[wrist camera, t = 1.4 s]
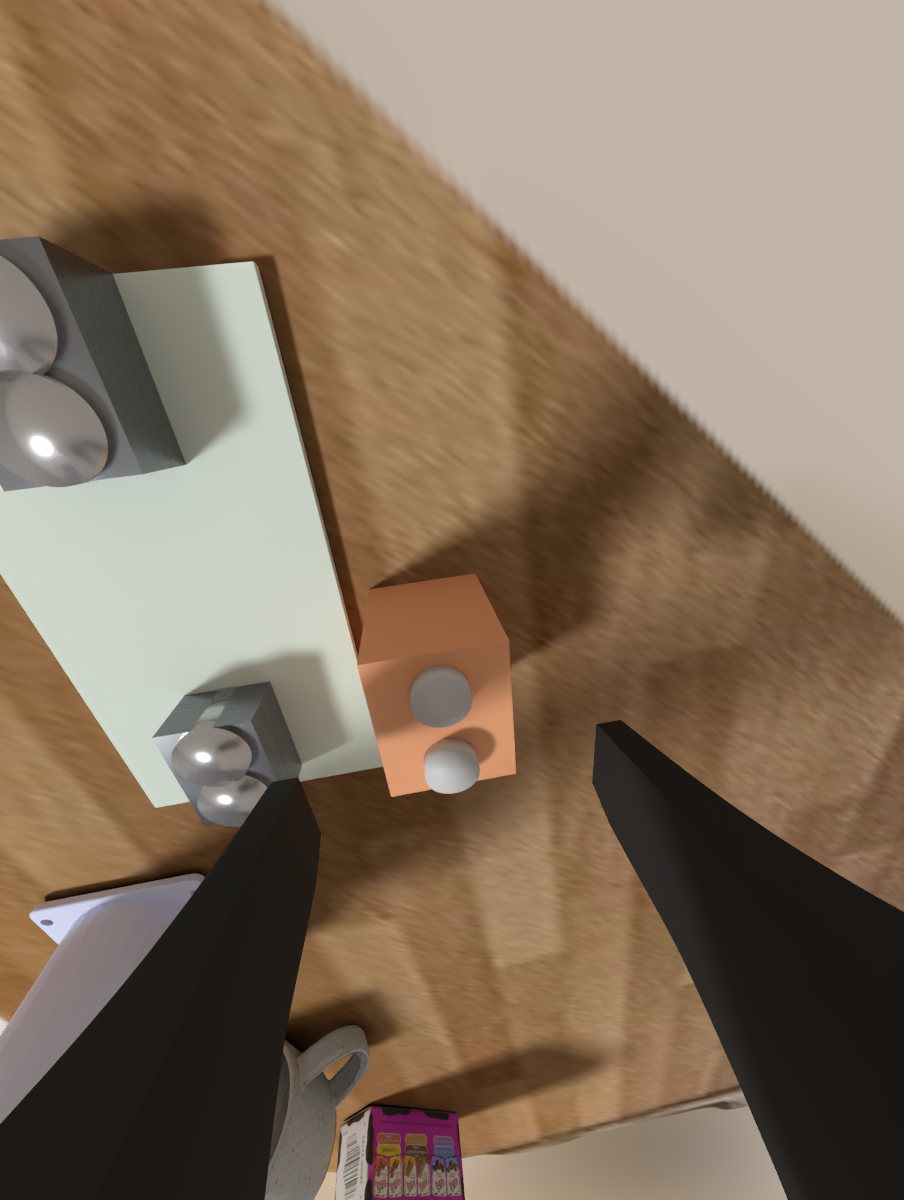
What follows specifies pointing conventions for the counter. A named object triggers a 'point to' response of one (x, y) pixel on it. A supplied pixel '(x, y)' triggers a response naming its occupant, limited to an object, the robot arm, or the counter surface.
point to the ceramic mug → (311, 1111)
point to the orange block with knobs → (437, 685)
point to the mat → (197, 545)
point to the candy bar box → (399, 1156)
